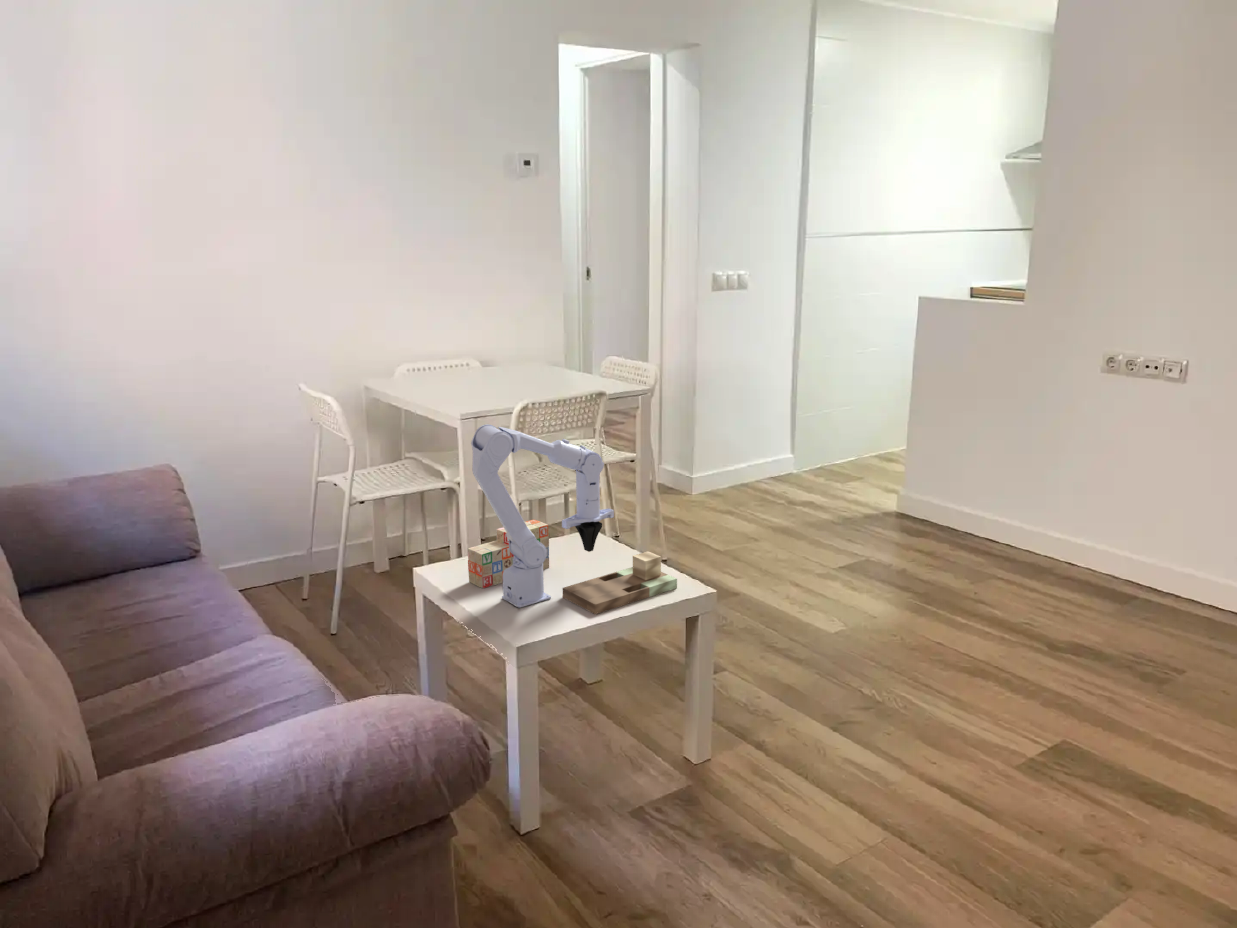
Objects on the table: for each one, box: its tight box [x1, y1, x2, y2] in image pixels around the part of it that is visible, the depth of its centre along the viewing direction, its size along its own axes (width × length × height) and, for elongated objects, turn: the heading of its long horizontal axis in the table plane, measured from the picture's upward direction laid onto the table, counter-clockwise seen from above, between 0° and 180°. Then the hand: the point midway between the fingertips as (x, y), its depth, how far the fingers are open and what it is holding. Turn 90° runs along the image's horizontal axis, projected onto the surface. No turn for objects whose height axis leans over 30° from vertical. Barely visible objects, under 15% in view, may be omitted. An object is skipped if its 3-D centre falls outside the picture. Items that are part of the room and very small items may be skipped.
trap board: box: [562, 566, 678, 615], centre depth 236 cm, size 26×13×2 cm, turn 129°
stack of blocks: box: [467, 519, 550, 589], centre depth 247 cm, size 21×6×12 cm, turn 133°
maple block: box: [632, 551, 662, 580], centre depth 240 cm, size 5×5×5 cm
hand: (588, 550), depth 238 cm, fingers closed
